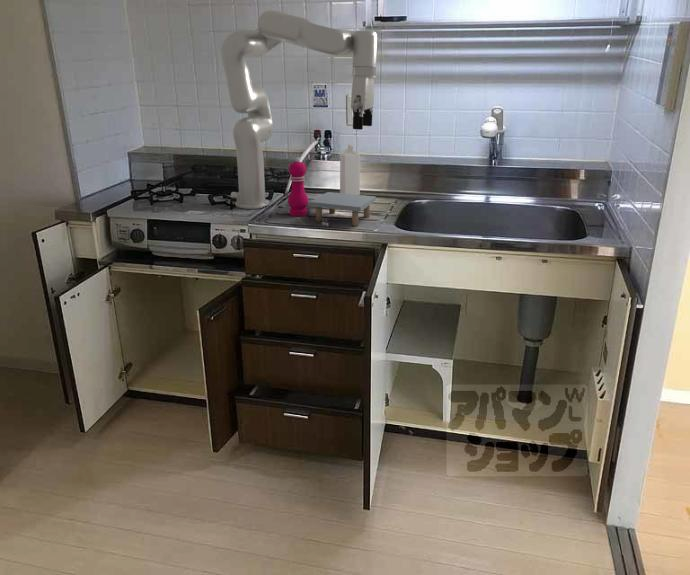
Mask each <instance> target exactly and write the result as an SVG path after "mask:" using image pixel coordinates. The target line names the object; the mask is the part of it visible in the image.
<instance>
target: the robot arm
mask: <svg viewBox="0 0 690 575" xmlns="http://www.w3.org/2000/svg"><path fill="white" fill-rule="evenodd" d="M282 42H284V43H288V44H292V45H294V46H298V47H300V48H301V47H302V48H306V49H309V50H312V51H315V52H320V53H324V54H326V55H332V56H348V55H352V74H351V77H352V83H351V84H352V85H351V95H350V109H351V110H352V129H353V130H360V131H361V130H363V127H372V126H373V112H374V111H373V107H374V100H375V83H374V82H375V80H374V78H377V54H378V53H377V52H378V50H377V49H378V48H377V46H378V34H377V32H376V31H374V30H348V29H341V28H332V27H328V26H323V25H320V24H316V23H313V22H310V21H309V19H308V18H305V17H301V16H298V15H294V14H288V13H287V12H285V11H281V10H271V9H270V10H265V11H264V12H261V14H260V15H259V17H258V19H257V29H255V30H254V29H237V30H234V31H232V32H230V33H229V34H228V35H226V36H225V38H224V39H223V42H222V44H221V48H220V56H221V60H222V66H223V70H224V73H225V78H226V83H227V84H226V85H227V88H228V94H229V99H230V104H231V106H232V110H234V111H235V112H236V113H237V114H247V116H246V117H243V118H241V119H238V120H237V121H236V122H235V124H234V126H233V129H232V130H233V131H232V136H233V141H234V146H235V150H236V151H235V152H236V166H237V176H238V177H237V178H238V182H237V183H238V192H236V191H232V192H231V193H230V198H231V199H236V201H235V203H234V204H235V207H237V208H240V209H247V210H249V209H250V210H253V209H254V210H255V209H263V207H264V208H266V207H265V206H267V205H268V204H269V203H270V200H268V199H266V185H265V182H266V181H265V163H264V162H265V161H264V152H263V148H262V146H261V143H263V142H266V141H268V140H270V139H271V138H272V135H273V133H274V122H273V116H272V111H271V110H272V109H271V104H270V99H269V96H268V94H267V91H266V90H265V89H264V87H262V86H261V85H259V84H256V83H253V80H252V75H251V71H250V68H249V65H248V64H247V62H246V58H249V57H252V58H253V57H256V58H257V57H258V58H259V57H262V56H264V55H266V54H268V53H269V52H271V51H272V50H273V49H275V48H276V47H277V46H278V45H280V44H281V43H282ZM269 205H270V204H269ZM267 207H268V206H267Z"/></svg>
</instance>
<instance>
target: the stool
mask: <svg viewBox="0 0 690 575" xmlns="http://www.w3.org/2000/svg"><path fill="white" fill-rule="evenodd" d="M376 199H377V197H376V196H373V195H365V194H364V195H362V194H360V195H354V194H344V193H340V192H333V191H327V192H325V193H323V194H321V195H320V196H318V197H316V198H315V199H312V200H311V201H309V207H314V208H315V222H316V221H317V222H316V223H322V222H323V208H324V209H328V210H329V211H328V212H329V214H333V215H334V214H336V210H339V211H340V210H341V211H350V212H352V214H351V215H352V216H351V220H352V221H351V226H352V225H353V226H352V227H358V226H359V212H360V213H361V212H362V211H363V218H366V219H367V218H370V211H371V210H370V209H371V208H370V207H371V205H372V204H374V203H375V202H376V201H377V200H376ZM321 221H322V222H321Z"/></svg>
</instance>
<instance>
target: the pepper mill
mask: <svg viewBox="0 0 690 575" xmlns="http://www.w3.org/2000/svg"><path fill="white" fill-rule="evenodd" d="M288 172H289V174H290V181H291V191H290V193H289V195H288V199H287V205H288V206H289V207H290V208H289V215H290V216H291V217H304V216H307V215H308V209H307V207H308V205H309V198H308V195H307V192H306V190H305V186H304V185H305V184H304V181H305V180H306V178H305V175H306V172H307V167H306V164H305V163H304V162H303V161H302V162H301V159H300V157H298V156H297V157H294V161H293V162H292V163H290V164H289V166H288Z"/></svg>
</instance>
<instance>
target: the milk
mask: <svg viewBox="0 0 690 575" xmlns="http://www.w3.org/2000/svg"><path fill="white" fill-rule="evenodd" d="M339 155H340V157H339V160H340V161H339V164H340V165H339V166H340V167H339V178H340V179H339V193H344V194H354V195H361V191H360V190H361V154H359V153H357V152H356V151H354V146H353V145H352V144H351V145H350V144H349V143H348V144H347V148H346V149H345V150H343V151H342V152H340V154H339Z"/></svg>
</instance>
